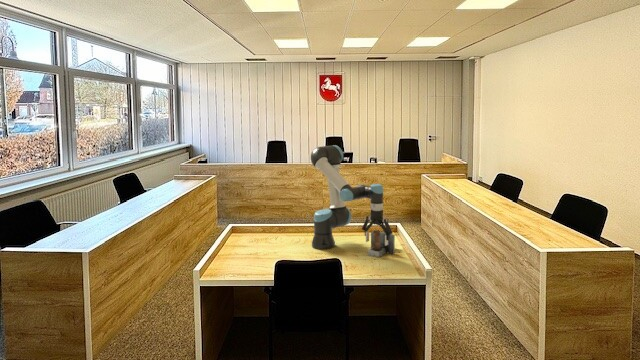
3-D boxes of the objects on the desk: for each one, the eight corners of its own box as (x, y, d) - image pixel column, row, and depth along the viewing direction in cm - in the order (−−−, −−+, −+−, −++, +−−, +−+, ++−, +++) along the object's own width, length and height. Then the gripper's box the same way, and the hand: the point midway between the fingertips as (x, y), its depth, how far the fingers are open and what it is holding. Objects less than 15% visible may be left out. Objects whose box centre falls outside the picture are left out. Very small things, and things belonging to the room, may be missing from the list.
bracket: (362, 253, 329) (362, 235, 327) (372, 249, 338) (372, 230, 336) (384, 258, 319) (384, 239, 317) (394, 253, 329) (394, 234, 326)
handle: (372, 253, 327) (372, 231, 324) (375, 251, 330) (375, 229, 327) (377, 254, 324) (377, 232, 322) (381, 252, 327) (381, 230, 325)
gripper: (356, 208, 327) (356, 241, 330) (391, 213, 312) (391, 248, 316) (362, 205, 332) (362, 238, 336) (398, 210, 318) (397, 245, 322)
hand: (376, 243), depth 326 cm, fingers open, 13 cm apart
